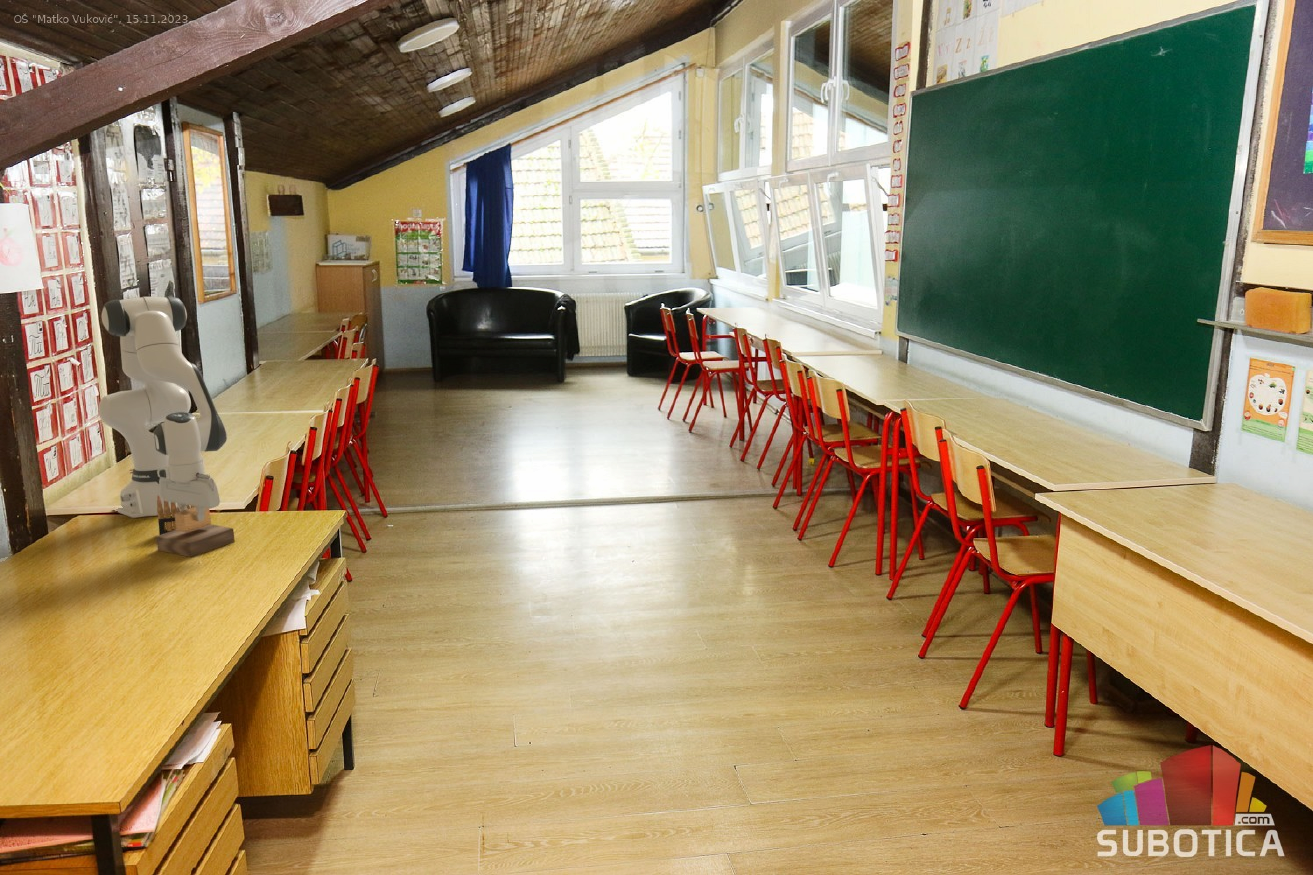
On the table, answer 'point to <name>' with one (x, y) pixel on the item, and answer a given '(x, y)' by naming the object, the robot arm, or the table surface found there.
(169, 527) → the ammunition clip
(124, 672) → the table surface
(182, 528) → the light brown wooden block
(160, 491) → the robot arm
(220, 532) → the walnut stand
